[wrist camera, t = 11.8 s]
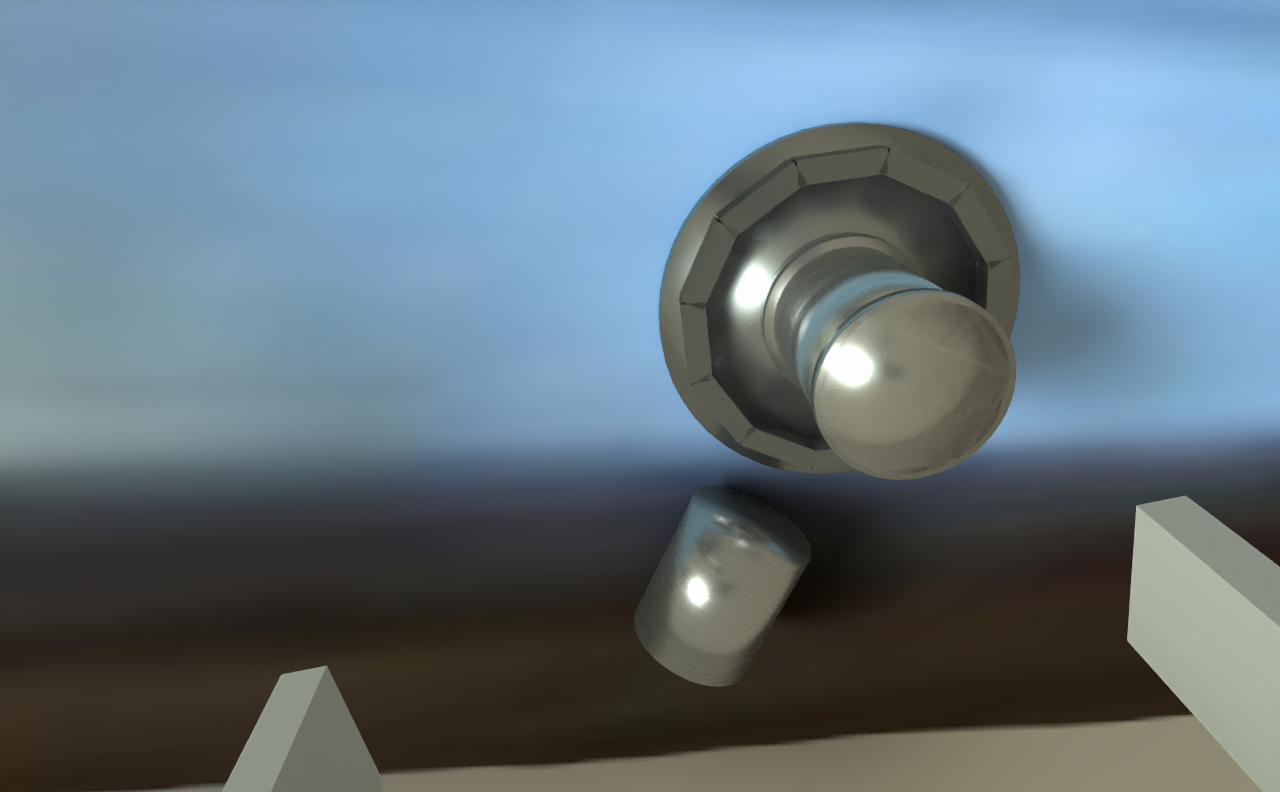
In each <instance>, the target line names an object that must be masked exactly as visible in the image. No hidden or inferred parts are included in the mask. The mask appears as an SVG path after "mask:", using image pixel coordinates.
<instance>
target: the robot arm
mask: <svg viewBox="0 0 1280 792" xmlns="http://www.w3.org/2000/svg"><path fill="white" fill-rule="evenodd" d="M1127 641H1128V642H1129V643H1130V644H1131V645H1132V646H1133V647H1134V649H1135V650H1136V651H1137V652H1138V653H1139V654H1140V655H1141V656H1142V657H1143V659H1144V660H1145V661H1146V662H1147V663H1148V664H1149V665H1150V666H1151V668H1152V669H1153V670H1154V671H1155V672H1156V673H1157V674H1158V675H1159V676H1160V678H1161V679H1162V680H1163V681H1164V682H1165V683H1166V684H1167V685H1168V687H1169V688H1170V689H1171V690H1172V691H1173V692H1174V693H1175V694H1176V695H1177V697H1178V698H1179V699H1180V700H1181V701H1182V702H1183V703H1184V704H1185V706H1186V707H1187V708H1188V709H1189V710H1190V711H1191V712H1192V713H1193V714H1194V716H1195V717H1196V718H1197V719H1198V720H1199V721H1200V722H1201V723H1202V724H1203V726H1204V727H1205V728H1206V729H1207V730H1208V731H1209V732H1210V733H1211V734H1212V736H1213V737H1214V738H1215V739H1216V740H1217V741H1218V742H1219V743H1220V744H1221V746H1222V747H1223V748H1224V749H1225V750H1226V751H1227V752H1228V754H1229V755H1230V756H1231V757H1232V758H1233V759H1234V760H1235V761H1236V762H1237V763H1238V765H1239V766H1240V767H1241V768H1242V769H1243V770H1244V771H1245V773H1246V774H1247V775H1248V776H1249V777H1250V778H1251V779H1252V780H1253V781H1254V783H1255V784H1256V785H1257V786H1258V787H1259V788H1260V789H1261V790H1262V791H1263V792H1280V567H1279V566H1278V565H1276V564H1275V563H1274V562H1273V561H1271V560H1270V559H1269V558H1267V557H1266V556H1265V555H1263V554H1262V553H1261V552H1259V551H1258V550H1257V549H1255V548H1254V547H1253V546H1251V545H1250V544H1249V543H1248V542H1246V541H1245V540H1244V539H1242V538H1241V537H1240V536H1238V535H1237V534H1236V533H1234V532H1233V531H1232V530H1230V529H1229V528H1228V527H1226V526H1225V525H1224V524H1222V523H1221V522H1220V521H1219V520H1217V519H1216V518H1215V517H1213V516H1212V515H1211V514H1209V513H1208V512H1207V511H1205V510H1204V509H1203V508H1201V507H1200V506H1199V505H1197V504H1196V503H1195V502H1194V501H1192V500H1191V499H1190V498H1188V497H1187V496H1182V497H1177V498H1172V499H1167V500H1162V501H1157V502H1152V503H1147V504H1142V505H1137V507H1136V521H1135V536H1134V550H1133V565H1132V579H1131V594H1130V608H1129V623H1128V637H1127ZM382 786H383V780H382V778H381V776H380V774H379V772H378V770H377V768H376V766H375V764H374V762H373V760H372V758H371V756H370V754H369V752H368V750H367V748H366V746H365V743H364V741H363V739H362V737H361V735H360V733H359V731H358V729H357V727H356V725H355V723H354V721H353V719H352V717H351V715H350V713H349V711H348V709H347V707H346V705H345V702H344V700H343V698H342V696H341V694H340V692H339V690H338V688H337V686H336V684H335V682H334V680H333V678H332V676H331V674H330V672H329V670H328V668H327V666H323V667H318V668H313V669H308V670H303V671H298V672H293V673H288V674H283V675H281V677H280V678H279V680H278V682H277V684H276V686H275V688H274V690H273V692H272V694H271V696H270V698H269V700H268V702H267V704H266V706H265V708H264V710H263V712H262V714H261V716H260V718H259V720H258V722H257V724H256V726H255V728H254V730H253V732H252V734H251V736H250V738H249V740H248V741H247V743H246V745H245V747H244V749H243V751H242V753H241V755H240V757H239V759H238V761H237V763H236V765H235V767H234V769H233V771H232V773H231V775H230V777H229V779H228V781H227V783H226V785H225V787H224V789H223V791H222V792H381V790H382Z"/></svg>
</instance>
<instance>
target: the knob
mask: <svg viewBox="0 0 1280 792" xmlns="http://www.w3.org/2000/svg"><path fill="white" fill-rule="evenodd" d="M760 327H761V334H762V338H763V341H764V344H765V346H766V349H767V351H768V353H769V355H770V356H771V358H772V360H773V362H774V363H775V365H776V366H777V368H778V369H779V370H780V371H781V373H782V374H783V375H784V376H785V377H786V378H787V379H788V380H790V381H791V382H792V383H794V384H795V385H797V386H798V387H800V388H801V390H802V391H803V393H804V395H805V396H806V398H807V399H808V401H809V403H810V404H811V406H812V411H813V415H814V418H815V421H816V423H817V426H818V428H819V430H820V432H821V434H822V435H823V437H824V439H825V440H826V442H827V443H828V445H829V446H830V448H831V449H832V450H833V451H834V452H835V453H836V455H837V456H838V457H840V458H841V459H842V460H843V461H844V462H845V463H847V464H848V465H850V466H852V467H853V468H855V469H857V470H859V471H861V472H863V473H866V474H869V475H872V476H875V477H879V478H885V479H898V480H904V479H915V478H921V477H926V476H930V475H933V474H936V473H939V472H942V471H944V470H946V469H949V468H951V467H953V466H955V465H956V464H958V463H960V462H962V461H963V460H965V459H966V458H968V457H969V456H970V455H972V454H973V453H974V452H975V451H977V450H978V449H979V448H980V447H981V446H982V445H983V444H984V443H985V442H986V441H987V440H988V439H989V438H990V437H991V436H992V434H993V433H994V432H995V430H996V429H997V427H998V426H999V425H1000V423H1001V421H1002V419H1003V418H1004V416H1005V414H1006V412H1007V410H1008V407H1009V405H1010V402H1011V399H1012V395H1013V392H1014V387H1015V379H1016V364H1015V357H1014V352H1013V349H1012V346H1011V343H1010V340H1009V338H1008V336H1007V334H1006V332H1005V331H1004V329H1003V328H1002V326H1001V325H1000V324H999V322H998V321H997V320H996V319H995V318H994V317H993V316H992V315H991V314H990V313H989V312H987V311H986V310H985V309H983V308H982V307H981V306H979V305H978V304H976V303H974V302H973V301H971V300H969V299H967V298H965V297H963V296H962V295H959V294H956V293H953V292H950V291H946V290H943V289H941V288H940V287H938V286H937V285H935V284H934V283H932V282H931V281H929V280H927V279H926V278H924V277H923V275H922V273H921V271H920V270H919V268H918V267H917V266H916V264H915V263H914V261H913V260H912V259H911V258H910V257H909V256H908V255H907V254H905V253H904V252H903V251H901V250H900V249H898V248H897V247H895V246H894V245H892V244H890V243H889V242H887V241H885V240H883V239H881V238H878V237H875V236H873V235H869V234H864V233H857V232H843V233H835V234H830V235H826V236H823V237H820V238H817V239H815V240H813V241H811V242H809V243H807V244H805V245H804V246H802V247H801V248H799V249H797V250H796V251H795V252H794V253H792V254H791V255H790V256H789V257H788V258H787V259H786V260H785V261H784V262H783V263H782V264H781V265H780V266H779V268H778V269H777V271H776V272H775V273H774V275H773V276H772V278H771V280H770V282H769V284H768V286H767V288H766V291H765V293H764V297H763V300H762V304H761V312H760Z"/></svg>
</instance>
